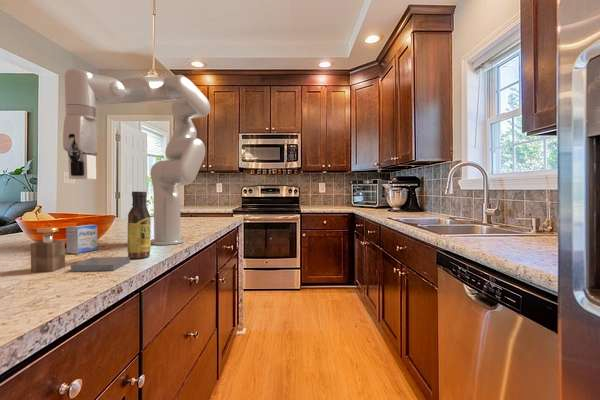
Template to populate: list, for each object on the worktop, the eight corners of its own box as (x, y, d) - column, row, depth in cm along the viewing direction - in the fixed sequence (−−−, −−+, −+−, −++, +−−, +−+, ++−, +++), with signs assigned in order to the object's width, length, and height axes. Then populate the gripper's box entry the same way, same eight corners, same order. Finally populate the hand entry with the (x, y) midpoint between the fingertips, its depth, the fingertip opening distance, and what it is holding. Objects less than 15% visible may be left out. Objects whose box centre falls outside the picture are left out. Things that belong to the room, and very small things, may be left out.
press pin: (44, 252, 85) (44, 227, 85) (62, 252, 86) (62, 227, 86) (32, 255, 81) (32, 229, 81) (51, 255, 82) (51, 229, 81)
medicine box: (77, 254, 104) (77, 227, 103) (66, 253, 105) (65, 226, 104) (98, 250, 111) (97, 224, 111) (86, 249, 112) (86, 224, 112)
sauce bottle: (144, 259, 96) (143, 191, 95) (123, 259, 96) (122, 191, 95) (154, 255, 102) (154, 191, 102) (134, 255, 102) (134, 191, 102)
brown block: (44, 267, 86) (44, 240, 86) (65, 266, 86) (64, 240, 86) (31, 271, 81) (30, 243, 81) (52, 271, 81) (52, 243, 81)
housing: (78, 179, 100) (78, 155, 99) (96, 179, 100) (95, 155, 100) (68, 178, 95) (68, 154, 94) (87, 178, 95) (86, 154, 95)
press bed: (92, 262, 91) (92, 257, 91) (130, 262, 92) (129, 256, 92) (70, 271, 81) (70, 265, 81) (113, 270, 82) (113, 264, 82)
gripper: (83, 119, 105) (85, 177, 105) (48, 106, 88) (50, 175, 88) (108, 120, 105) (110, 177, 106) (78, 107, 88) (80, 175, 89)
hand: (83, 175), depth 97 cm, fingers closed on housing, 5 cm apart
